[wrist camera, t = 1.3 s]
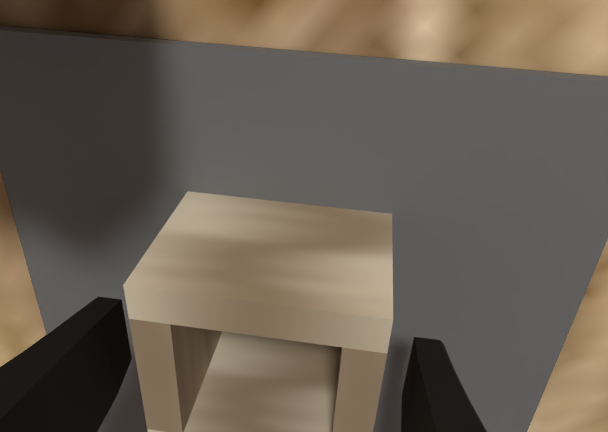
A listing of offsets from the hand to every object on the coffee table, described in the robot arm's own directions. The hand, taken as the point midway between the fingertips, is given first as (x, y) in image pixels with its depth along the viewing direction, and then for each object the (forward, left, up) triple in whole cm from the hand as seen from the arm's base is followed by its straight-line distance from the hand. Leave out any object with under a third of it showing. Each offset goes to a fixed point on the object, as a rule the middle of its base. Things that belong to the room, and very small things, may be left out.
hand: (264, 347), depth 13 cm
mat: (0, +7, -3) cm, 7 cm away
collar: (0, 0, -3) cm, 3 cm away
